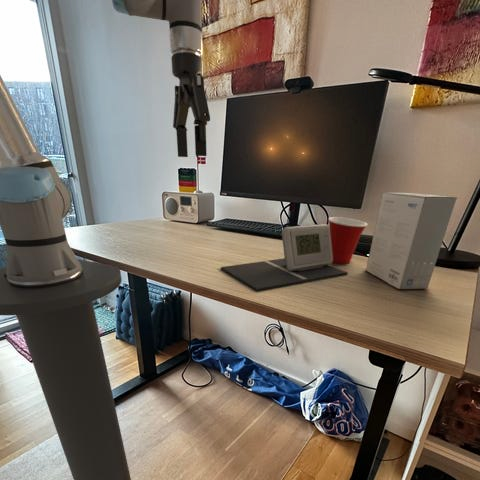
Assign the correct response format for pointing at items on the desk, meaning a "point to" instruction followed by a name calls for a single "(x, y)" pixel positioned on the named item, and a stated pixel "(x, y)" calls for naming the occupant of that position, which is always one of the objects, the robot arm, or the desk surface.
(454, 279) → the desk surface
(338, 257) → the plastic cup
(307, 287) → the desk surface
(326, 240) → the digital clock
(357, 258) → the desk surface
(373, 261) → the hard drive box
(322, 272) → the desk mat
